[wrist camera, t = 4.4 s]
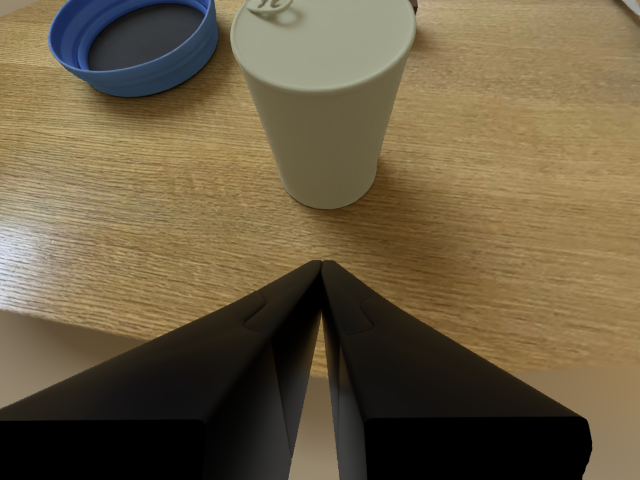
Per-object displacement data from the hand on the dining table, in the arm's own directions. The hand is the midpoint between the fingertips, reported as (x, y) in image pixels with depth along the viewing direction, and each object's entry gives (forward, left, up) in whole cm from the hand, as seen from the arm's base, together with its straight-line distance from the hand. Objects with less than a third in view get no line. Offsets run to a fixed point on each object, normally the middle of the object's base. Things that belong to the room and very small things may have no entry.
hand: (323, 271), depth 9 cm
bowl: (+30, -21, -11) cm, 38 cm away
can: (+4, -11, -11) cm, 16 cm away
